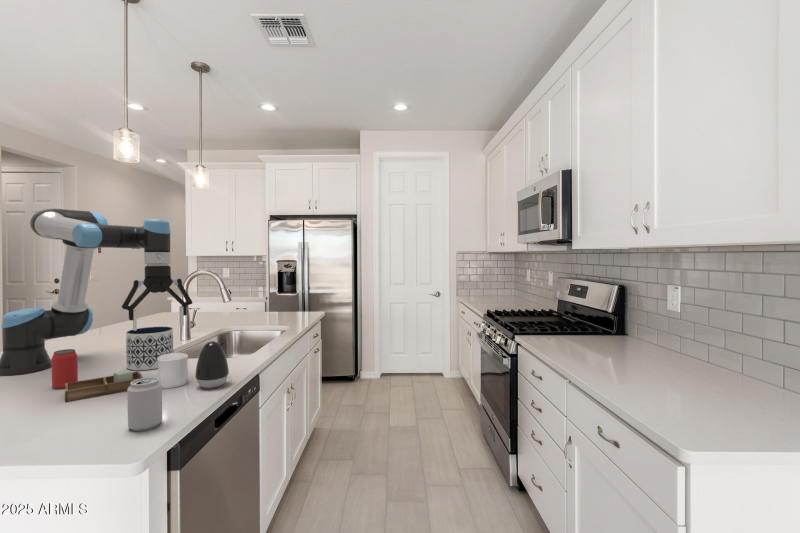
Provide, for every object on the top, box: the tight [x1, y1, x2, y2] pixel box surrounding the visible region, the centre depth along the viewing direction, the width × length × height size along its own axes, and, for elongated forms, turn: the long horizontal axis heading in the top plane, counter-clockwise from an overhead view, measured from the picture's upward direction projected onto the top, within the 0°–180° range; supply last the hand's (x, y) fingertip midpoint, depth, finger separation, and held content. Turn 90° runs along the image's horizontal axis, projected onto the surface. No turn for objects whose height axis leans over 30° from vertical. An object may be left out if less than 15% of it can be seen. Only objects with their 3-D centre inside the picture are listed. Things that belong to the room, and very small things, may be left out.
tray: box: [64, 371, 144, 403], centre depth 126 cm, size 10×20×3 cm, turn 131°
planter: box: [125, 326, 174, 372], centre depth 155 cm, size 16×16×14 cm
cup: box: [156, 352, 189, 389], centre depth 132 cm, size 10×10×10 cm
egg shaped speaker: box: [194, 340, 230, 389], centre depth 130 cm, size 10×10×15 cm
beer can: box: [51, 348, 79, 390], centre depth 130 cm, size 7×7×12 cm
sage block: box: [113, 369, 133, 383], centre depth 129 cm, size 4×4×4 cm
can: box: [126, 376, 163, 432], centre depth 99 cm, size 8×8×12 cm
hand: (159, 327), depth 131 cm, fingers open, 13 cm apart
